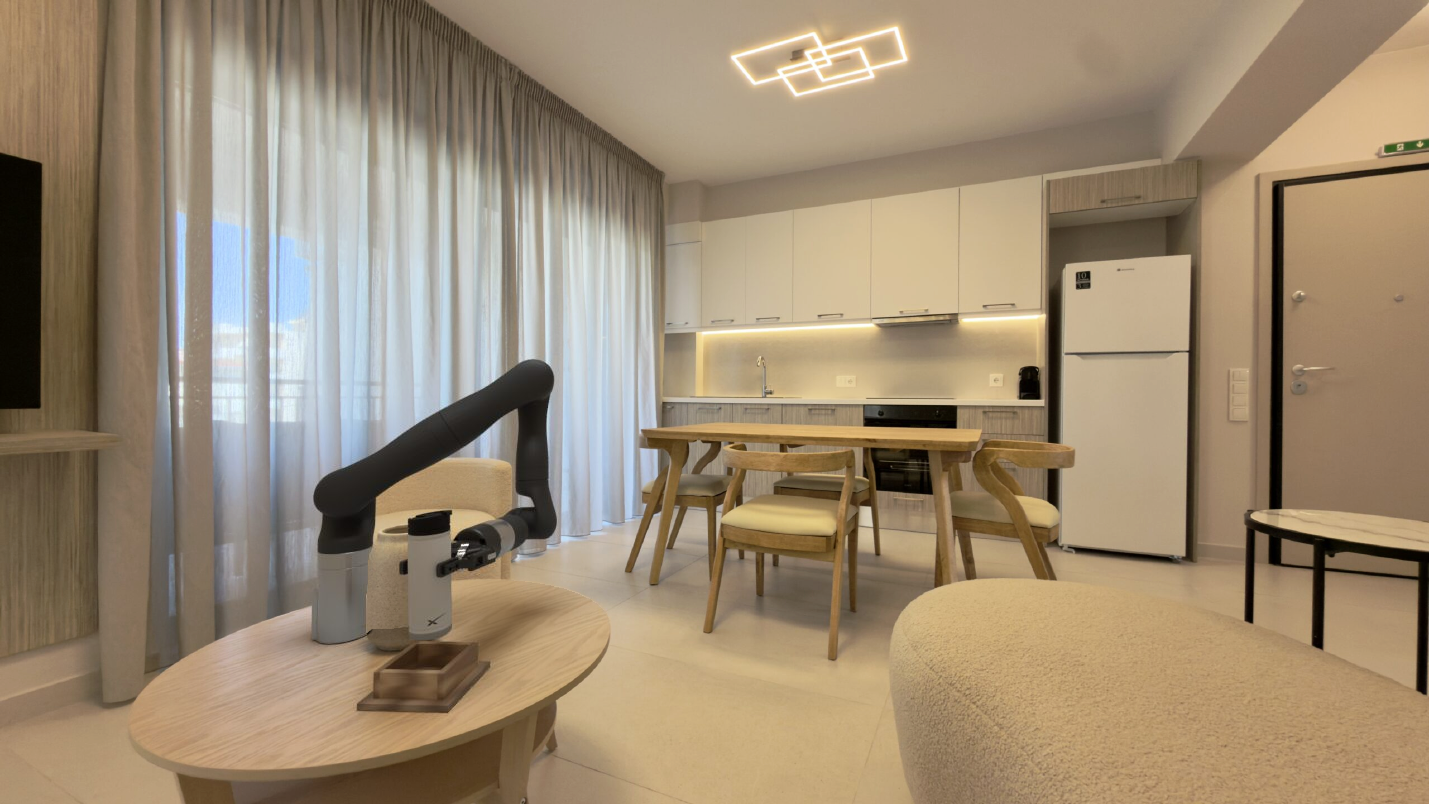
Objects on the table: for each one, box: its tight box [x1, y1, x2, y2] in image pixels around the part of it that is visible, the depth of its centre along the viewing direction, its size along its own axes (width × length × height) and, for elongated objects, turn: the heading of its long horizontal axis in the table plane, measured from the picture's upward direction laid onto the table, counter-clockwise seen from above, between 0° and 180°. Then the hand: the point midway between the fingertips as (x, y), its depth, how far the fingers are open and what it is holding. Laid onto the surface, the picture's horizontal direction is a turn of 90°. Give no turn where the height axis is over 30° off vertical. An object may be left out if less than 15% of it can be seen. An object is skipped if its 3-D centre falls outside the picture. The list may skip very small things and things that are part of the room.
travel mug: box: [407, 509, 453, 641], centre depth 88 cm, size 6×7×20 cm
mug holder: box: [356, 640, 491, 713], centre depth 88 cm, size 14×14×5 cm
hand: (419, 570), depth 86 cm, fingers closed on travel mug, 6 cm apart
